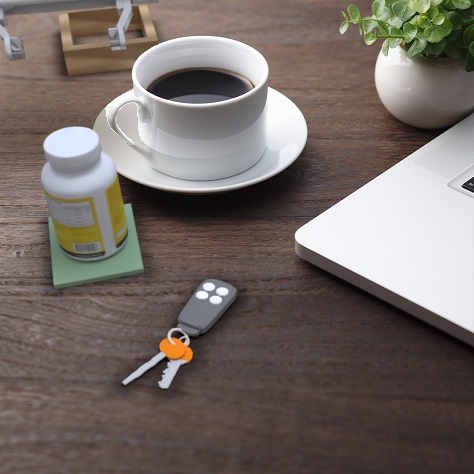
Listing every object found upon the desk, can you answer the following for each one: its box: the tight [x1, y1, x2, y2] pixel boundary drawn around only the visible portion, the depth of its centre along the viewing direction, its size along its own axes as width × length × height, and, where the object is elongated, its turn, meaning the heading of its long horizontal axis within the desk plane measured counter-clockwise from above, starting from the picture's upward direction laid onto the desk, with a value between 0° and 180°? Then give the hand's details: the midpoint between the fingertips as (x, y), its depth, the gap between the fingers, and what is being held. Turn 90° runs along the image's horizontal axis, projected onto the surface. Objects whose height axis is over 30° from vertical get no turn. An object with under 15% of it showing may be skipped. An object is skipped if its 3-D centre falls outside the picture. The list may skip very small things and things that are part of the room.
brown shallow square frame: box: [57, 4, 160, 77], centre depth 106 cm, size 11×11×4 cm
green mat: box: [47, 202, 145, 290], centre depth 79 cm, size 10×8×1 cm
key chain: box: [121, 278, 238, 390], centre depth 70 cm, size 13×4×2 cm, turn 157°
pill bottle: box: [40, 126, 128, 261], centre depth 75 cm, size 6×6×12 cm
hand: (68, 53), depth 79 cm, fingers open, 8 cm apart
